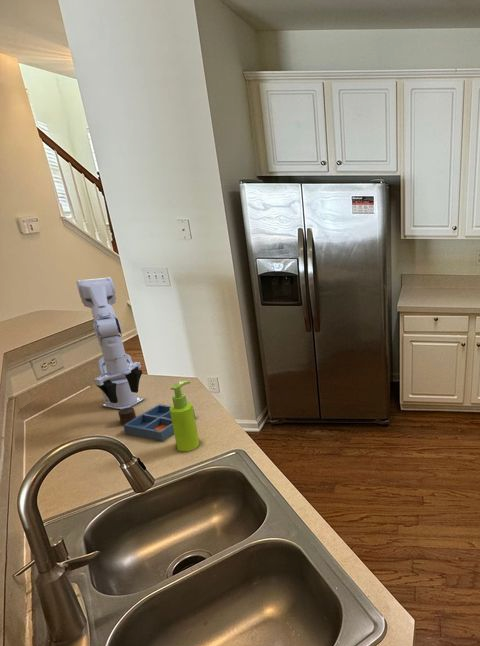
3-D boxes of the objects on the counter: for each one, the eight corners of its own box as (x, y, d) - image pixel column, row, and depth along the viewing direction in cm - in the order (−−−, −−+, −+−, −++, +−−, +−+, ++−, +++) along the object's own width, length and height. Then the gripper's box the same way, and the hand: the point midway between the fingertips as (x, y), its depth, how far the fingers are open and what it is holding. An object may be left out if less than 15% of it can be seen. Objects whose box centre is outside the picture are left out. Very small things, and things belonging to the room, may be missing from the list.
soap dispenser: (206, 440, 130) (195, 381, 123) (188, 453, 124) (176, 391, 117) (190, 436, 132) (179, 377, 125) (172, 449, 126) (159, 388, 119)
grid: (125, 433, 133) (123, 425, 132) (160, 411, 145) (159, 403, 144) (162, 441, 129) (160, 432, 128) (195, 418, 142) (193, 410, 141)
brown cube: (117, 423, 138) (114, 412, 137) (129, 417, 142) (126, 406, 140) (128, 425, 137) (125, 415, 135) (139, 419, 141) (137, 408, 139)
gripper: (103, 366, 123) (114, 409, 128) (144, 350, 137) (153, 389, 141) (84, 364, 125) (96, 406, 130) (127, 348, 138) (136, 386, 143)
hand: (124, 397), depth 136 cm, fingers open, 7 cm apart
